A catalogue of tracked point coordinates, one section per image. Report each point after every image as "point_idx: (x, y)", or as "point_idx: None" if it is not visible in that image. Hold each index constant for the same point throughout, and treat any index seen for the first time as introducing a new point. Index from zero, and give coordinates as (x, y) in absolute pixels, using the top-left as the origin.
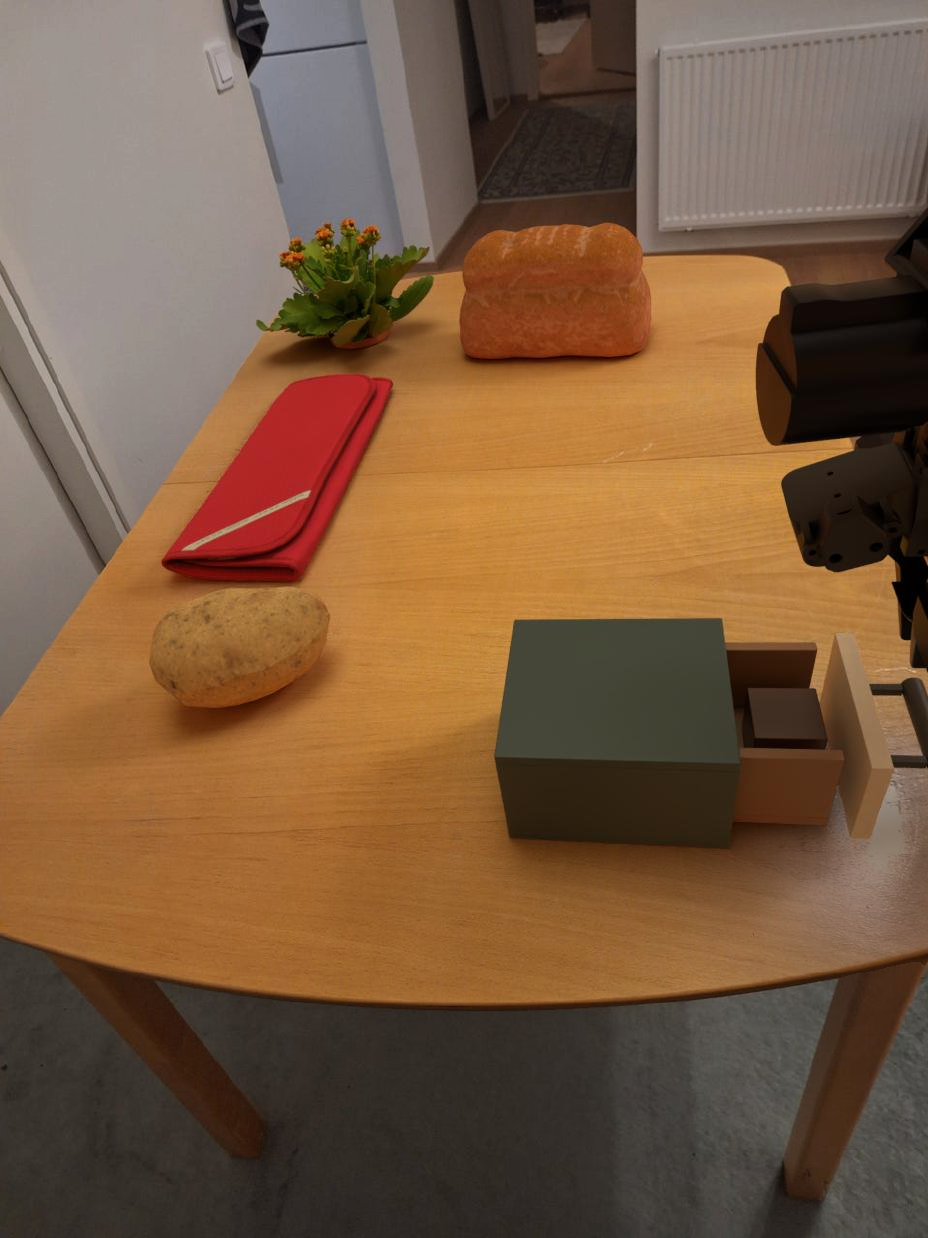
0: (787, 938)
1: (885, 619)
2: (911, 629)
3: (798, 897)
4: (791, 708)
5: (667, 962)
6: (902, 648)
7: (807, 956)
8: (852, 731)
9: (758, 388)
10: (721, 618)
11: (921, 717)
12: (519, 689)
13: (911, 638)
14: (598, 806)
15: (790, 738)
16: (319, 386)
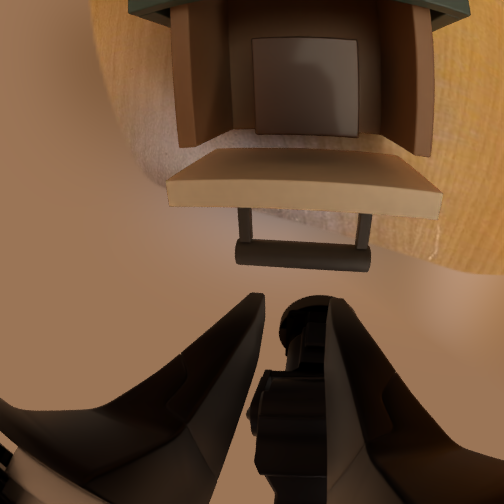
0: (132, 93)
1: (488, 254)
2: (328, 326)
3: (165, 101)
4: (314, 93)
5: (107, 18)
6: (456, 257)
7: (122, 108)
8: (269, 169)
9: None
10: (469, 14)
11: (305, 255)
12: None
13: (234, 335)
14: None
15: (253, 84)
16: None
